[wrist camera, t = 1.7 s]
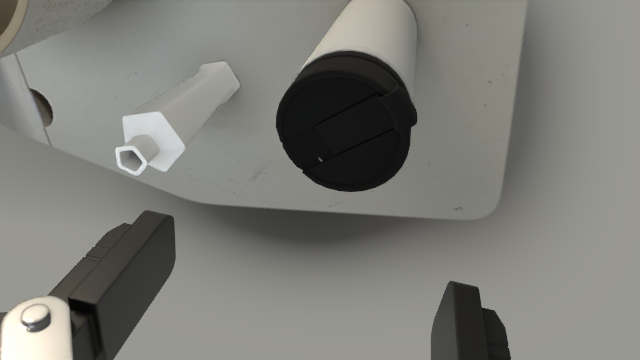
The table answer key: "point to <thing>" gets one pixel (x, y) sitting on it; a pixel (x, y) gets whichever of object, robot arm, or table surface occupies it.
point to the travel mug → (354, 99)
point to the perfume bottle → (174, 119)
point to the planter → (41, 20)
